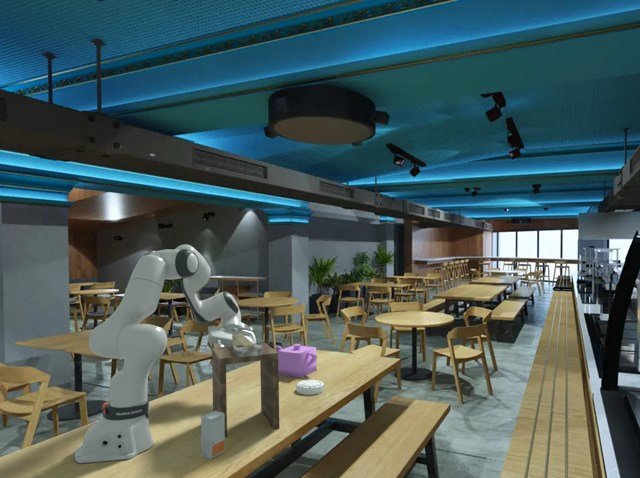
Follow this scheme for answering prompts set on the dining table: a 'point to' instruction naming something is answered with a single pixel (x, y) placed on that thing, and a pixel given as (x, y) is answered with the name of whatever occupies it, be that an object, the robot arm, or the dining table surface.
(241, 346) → the bar
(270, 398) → the stand
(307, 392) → the mooncake
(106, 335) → the robot arm
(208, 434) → the skincare box
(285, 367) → the teapot
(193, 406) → the dining table surface
